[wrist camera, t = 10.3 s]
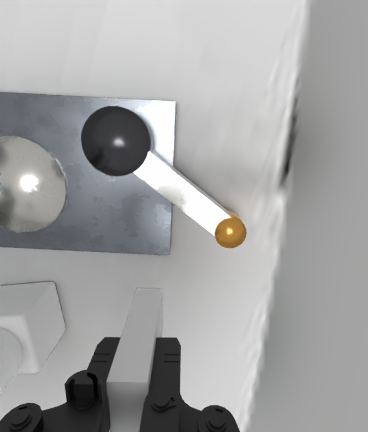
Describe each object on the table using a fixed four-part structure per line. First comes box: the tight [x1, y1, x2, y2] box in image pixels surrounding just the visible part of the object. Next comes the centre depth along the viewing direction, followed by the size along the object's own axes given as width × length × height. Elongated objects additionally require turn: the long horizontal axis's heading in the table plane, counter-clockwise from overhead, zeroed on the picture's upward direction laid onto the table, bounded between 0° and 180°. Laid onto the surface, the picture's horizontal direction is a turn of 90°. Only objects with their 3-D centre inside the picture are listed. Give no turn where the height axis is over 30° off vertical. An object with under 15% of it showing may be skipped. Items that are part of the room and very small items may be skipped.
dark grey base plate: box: [0, 92, 176, 255], centre depth 30 cm, size 26×16×2 cm, turn 87°
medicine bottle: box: [0, 282, 66, 394], centre depth 30 cm, size 7×7×12 cm
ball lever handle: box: [81, 106, 246, 248], centre depth 27 cm, size 18×6×3 cm, turn 51°
